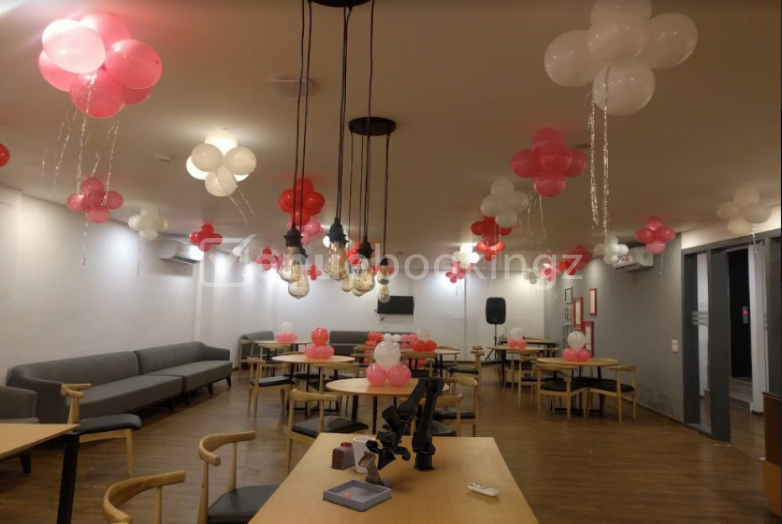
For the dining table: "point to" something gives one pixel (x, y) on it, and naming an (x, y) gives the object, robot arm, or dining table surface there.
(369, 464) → the lever
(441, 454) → the dining table surface
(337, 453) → the food item
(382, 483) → the lever stand
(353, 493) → the tray
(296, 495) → the dining table surface
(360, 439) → the foam cup
